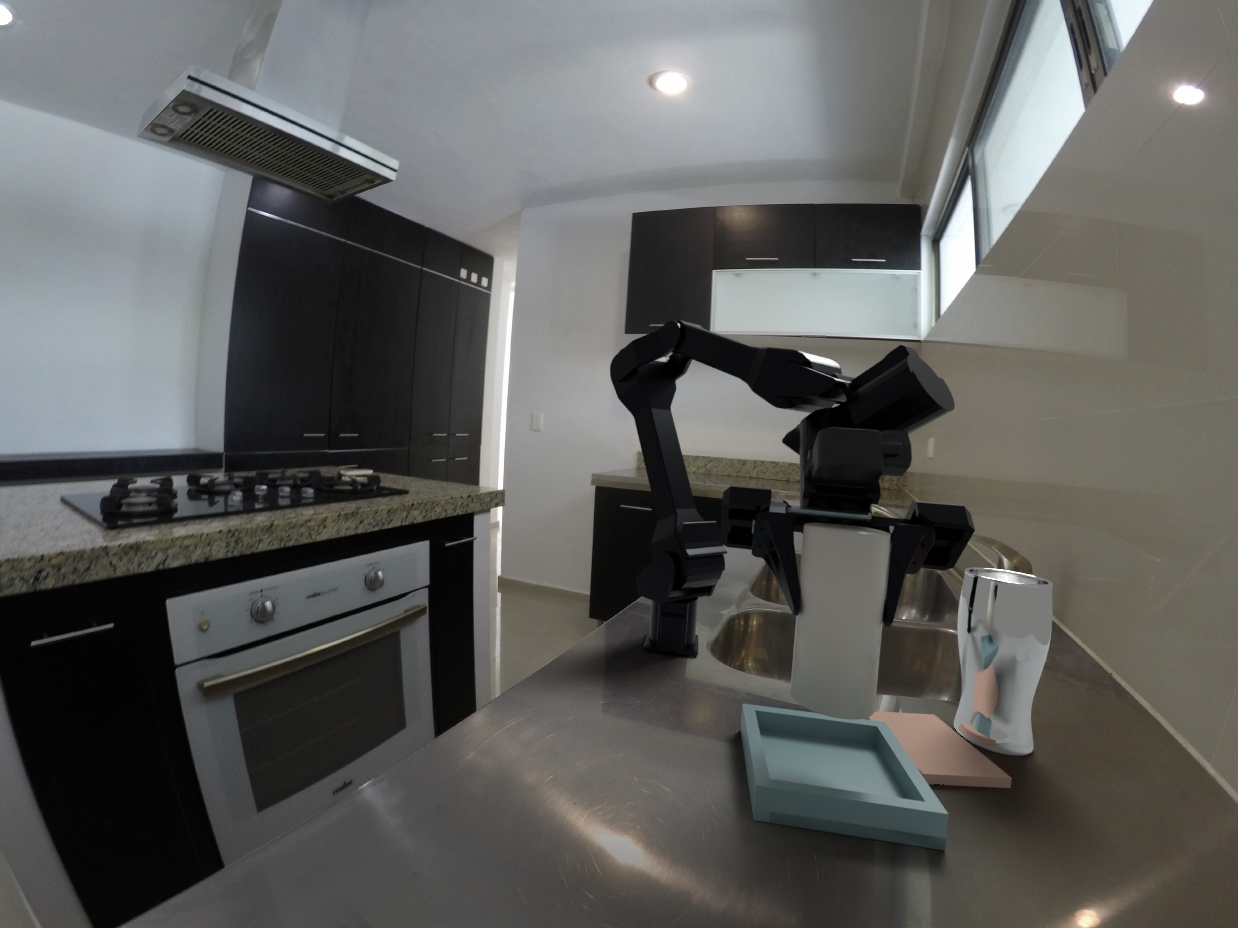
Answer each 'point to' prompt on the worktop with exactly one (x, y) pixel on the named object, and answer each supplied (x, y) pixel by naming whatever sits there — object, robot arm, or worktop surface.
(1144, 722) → the worktop surface
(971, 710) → the beer glass
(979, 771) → the plate
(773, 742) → the tray
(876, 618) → the frosted white cylinder
